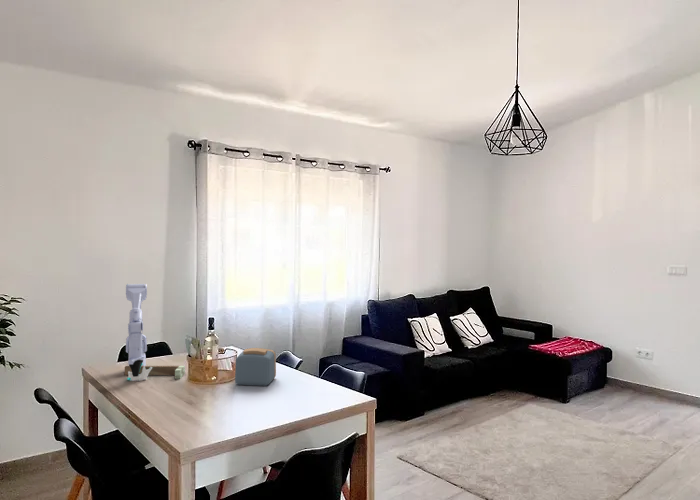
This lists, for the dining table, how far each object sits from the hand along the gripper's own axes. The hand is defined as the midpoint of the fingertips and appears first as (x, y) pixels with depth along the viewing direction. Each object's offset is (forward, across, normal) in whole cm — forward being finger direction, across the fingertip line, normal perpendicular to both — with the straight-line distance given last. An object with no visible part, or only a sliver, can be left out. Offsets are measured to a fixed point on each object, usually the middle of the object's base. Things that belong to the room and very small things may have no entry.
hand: (135, 376), depth 251 cm
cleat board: (+2, +9, -5) cm, 10 cm away
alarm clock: (+3, -2, -56) cm, 56 cm away
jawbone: (+3, +5, +1) cm, 5 cm away
